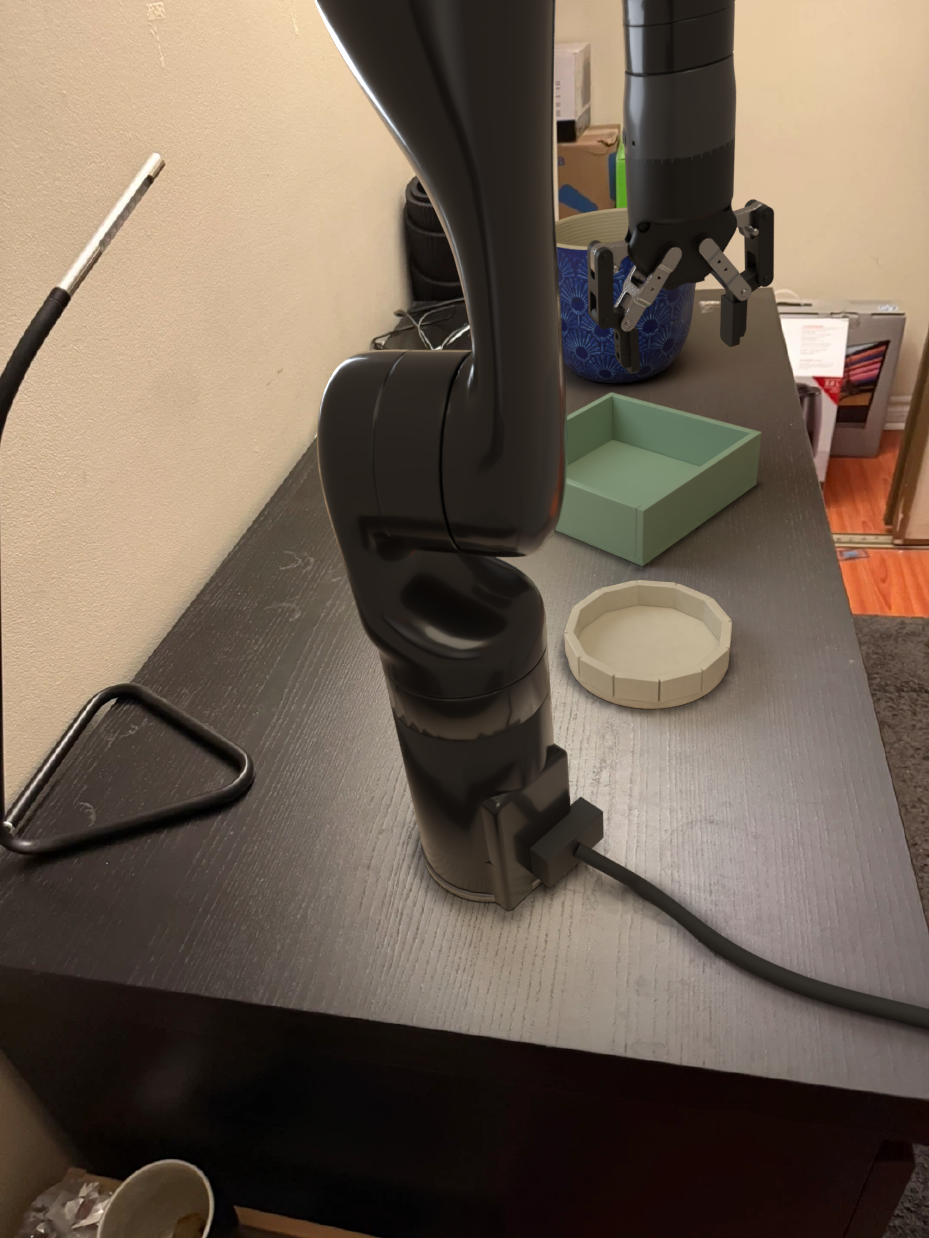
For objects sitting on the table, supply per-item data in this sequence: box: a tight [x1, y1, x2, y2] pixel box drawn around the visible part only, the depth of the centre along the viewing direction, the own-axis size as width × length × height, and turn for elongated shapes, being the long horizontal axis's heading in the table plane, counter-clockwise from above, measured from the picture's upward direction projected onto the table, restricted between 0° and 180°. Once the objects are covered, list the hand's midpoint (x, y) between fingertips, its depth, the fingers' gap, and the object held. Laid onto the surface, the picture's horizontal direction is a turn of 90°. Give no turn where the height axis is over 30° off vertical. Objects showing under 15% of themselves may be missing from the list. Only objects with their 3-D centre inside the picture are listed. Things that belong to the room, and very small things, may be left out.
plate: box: [563, 579, 733, 710], centre depth 69 cm, size 13×13×3 cm
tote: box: [555, 391, 763, 567], centre depth 89 cm, size 20×20×6 cm
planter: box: [555, 206, 697, 384], centre depth 114 cm, size 21×21×19 cm
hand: (680, 356), depth 69 cm, fingers open, 8 cm apart
